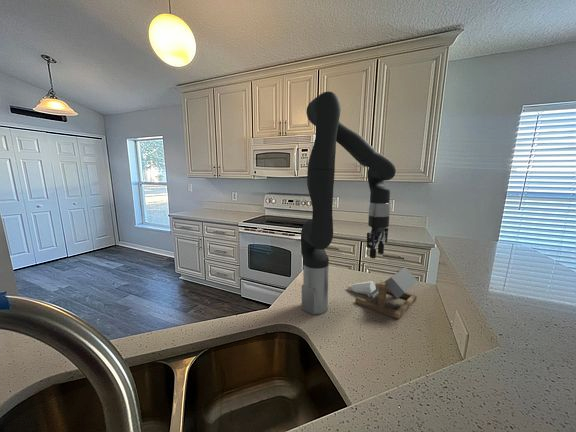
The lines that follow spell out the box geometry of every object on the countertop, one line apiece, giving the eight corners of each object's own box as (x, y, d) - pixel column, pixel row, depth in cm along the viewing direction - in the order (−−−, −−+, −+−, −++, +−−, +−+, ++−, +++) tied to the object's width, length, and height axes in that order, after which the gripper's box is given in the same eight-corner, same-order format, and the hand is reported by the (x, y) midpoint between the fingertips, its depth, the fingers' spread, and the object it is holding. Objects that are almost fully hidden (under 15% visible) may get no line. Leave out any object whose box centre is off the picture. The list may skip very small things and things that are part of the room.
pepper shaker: (370, 294, 97) (345, 293, 104) (376, 295, 101) (352, 295, 108) (369, 280, 99) (345, 280, 106) (375, 282, 103) (352, 282, 110)
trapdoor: (404, 293, 84) (390, 276, 87) (379, 310, 91) (367, 295, 94) (418, 280, 94) (405, 266, 97) (394, 297, 101) (382, 283, 104)
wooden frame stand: (398, 319, 84) (400, 289, 82) (355, 302, 96) (356, 276, 94) (416, 299, 97) (418, 273, 96) (376, 287, 109) (377, 263, 107)
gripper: (377, 211, 102) (375, 250, 105) (360, 215, 92) (359, 258, 95) (396, 213, 97) (393, 253, 99) (380, 217, 87) (377, 262, 89)
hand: (376, 255), depth 97 cm, fingers open, 6 cm apart
